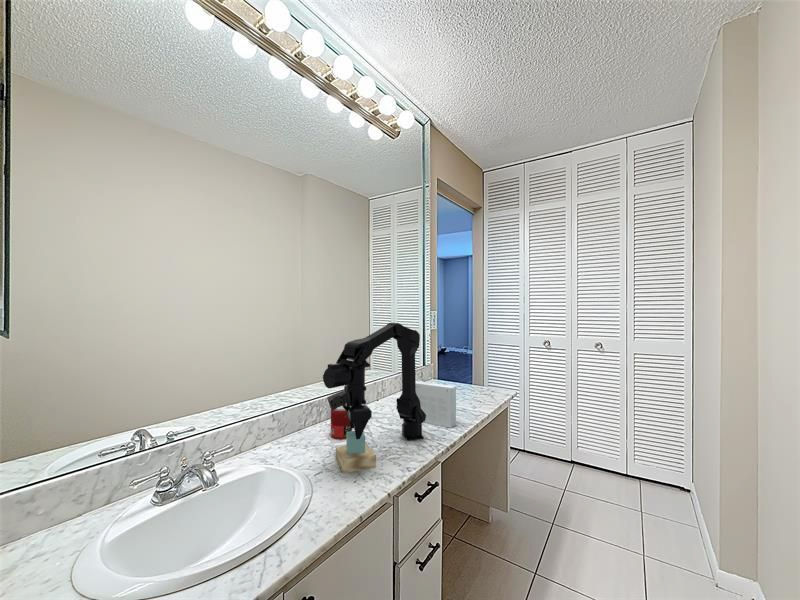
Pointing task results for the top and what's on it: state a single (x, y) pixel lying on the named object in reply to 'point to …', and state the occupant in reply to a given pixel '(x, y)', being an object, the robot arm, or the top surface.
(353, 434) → the teal cube
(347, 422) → the canned food
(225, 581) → the top surface
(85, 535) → the top surface
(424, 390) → the skincare box
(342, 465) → the bamboo box
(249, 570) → the top surface
